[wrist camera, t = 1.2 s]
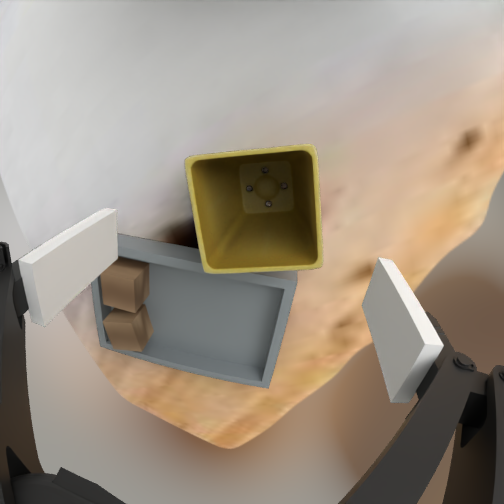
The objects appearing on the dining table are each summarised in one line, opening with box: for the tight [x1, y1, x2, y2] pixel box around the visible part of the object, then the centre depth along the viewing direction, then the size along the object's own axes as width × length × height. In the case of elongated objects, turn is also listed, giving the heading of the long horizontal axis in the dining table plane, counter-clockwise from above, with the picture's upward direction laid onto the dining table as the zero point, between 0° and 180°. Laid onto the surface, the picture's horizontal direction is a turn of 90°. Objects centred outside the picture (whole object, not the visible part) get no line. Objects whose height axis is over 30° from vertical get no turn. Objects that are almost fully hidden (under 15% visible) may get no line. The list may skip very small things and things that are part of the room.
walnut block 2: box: [103, 304, 154, 352], centre depth 35 cm, size 4×4×4 cm
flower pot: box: [185, 144, 323, 274], centre depth 25 cm, size 9×9×9 cm
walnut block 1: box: [100, 256, 150, 313], centre depth 32 cm, size 4×4×4 cm
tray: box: [91, 233, 297, 388], centre depth 34 cm, size 15×22×3 cm
